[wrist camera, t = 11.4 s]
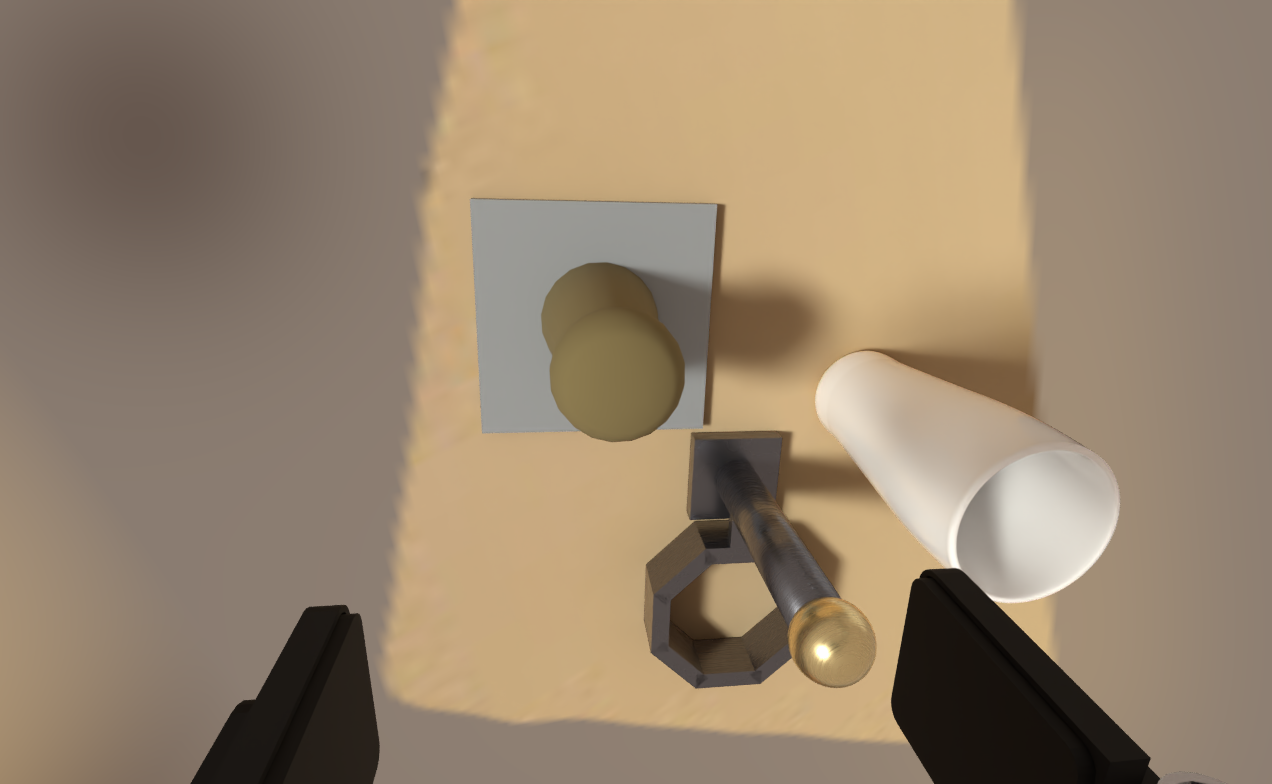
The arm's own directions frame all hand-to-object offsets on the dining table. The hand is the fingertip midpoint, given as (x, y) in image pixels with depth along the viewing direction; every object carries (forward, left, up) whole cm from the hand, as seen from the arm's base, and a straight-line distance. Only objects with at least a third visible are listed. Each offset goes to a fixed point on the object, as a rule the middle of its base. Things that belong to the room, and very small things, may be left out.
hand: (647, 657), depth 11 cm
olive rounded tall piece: (0, +1, -25) cm, 25 cm away
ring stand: (+14, +9, -25) cm, 30 cm away
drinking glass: (+4, +16, -25) cm, 30 cm away
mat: (0, +1, -25) cm, 25 cm away
